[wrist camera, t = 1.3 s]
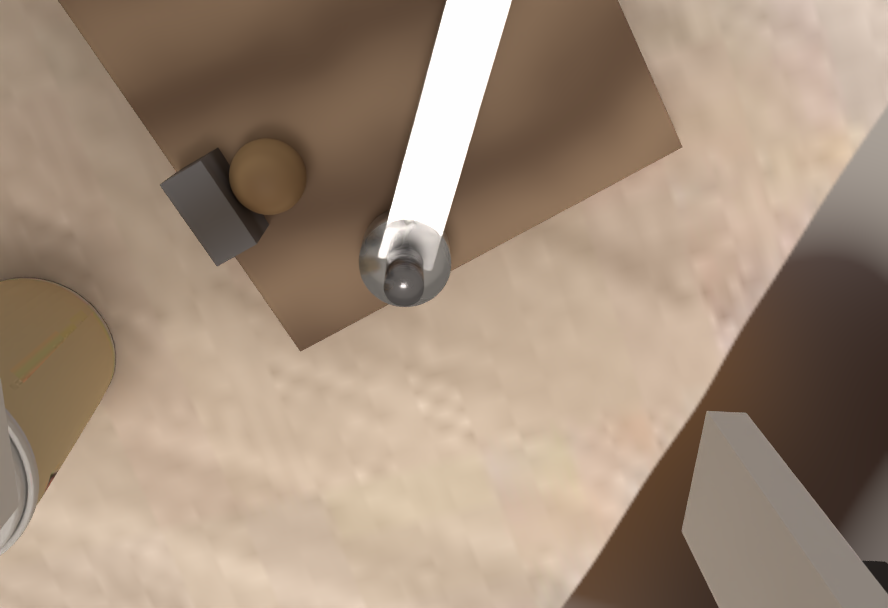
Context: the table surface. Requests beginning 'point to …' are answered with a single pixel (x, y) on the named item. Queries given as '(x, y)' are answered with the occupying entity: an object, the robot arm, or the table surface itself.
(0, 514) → the robot arm
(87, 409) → the coffee cup
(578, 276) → the table surface
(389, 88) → the nutcracker board
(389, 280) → the lever
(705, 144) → the table surface
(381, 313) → the table surface
